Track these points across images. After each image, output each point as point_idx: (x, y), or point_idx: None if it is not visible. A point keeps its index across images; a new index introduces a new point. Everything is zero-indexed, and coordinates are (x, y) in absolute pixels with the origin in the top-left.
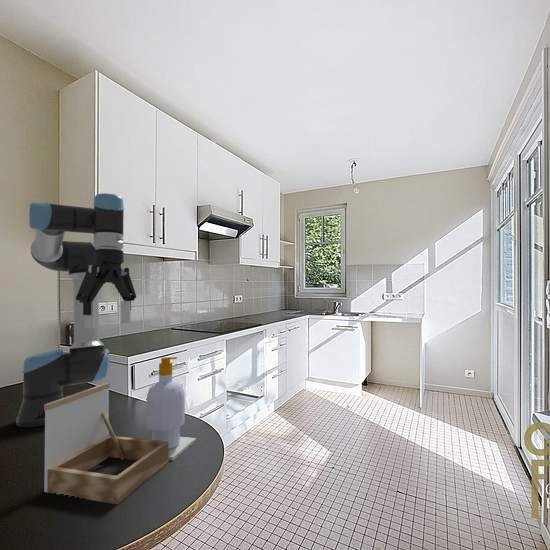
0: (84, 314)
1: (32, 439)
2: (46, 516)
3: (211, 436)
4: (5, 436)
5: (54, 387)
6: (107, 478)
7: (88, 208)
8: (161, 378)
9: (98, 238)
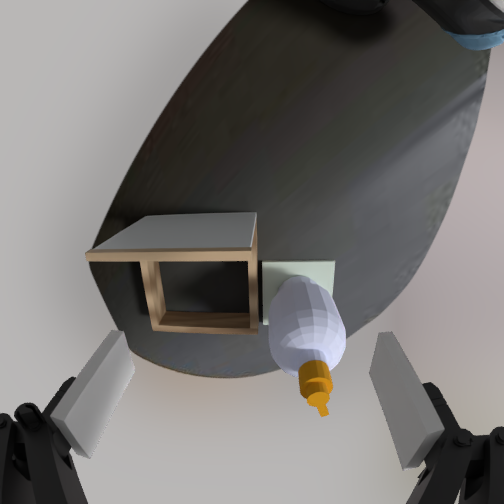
0: (71, 383)
1: (269, 32)
2: (120, 261)
3: (347, 332)
4: None
5: None
6: (150, 318)
7: None
8: (297, 366)
9: None
